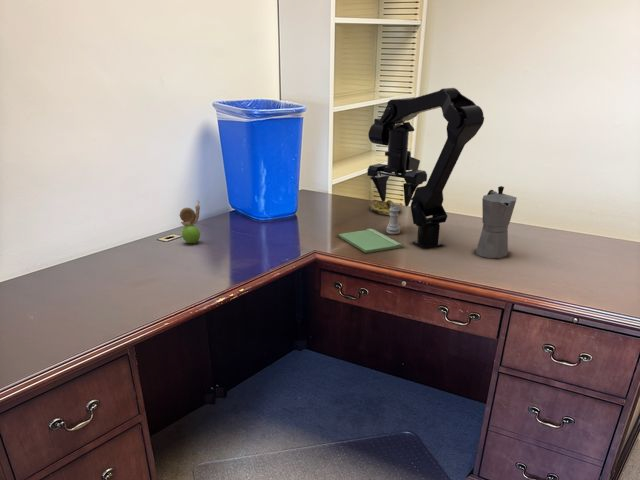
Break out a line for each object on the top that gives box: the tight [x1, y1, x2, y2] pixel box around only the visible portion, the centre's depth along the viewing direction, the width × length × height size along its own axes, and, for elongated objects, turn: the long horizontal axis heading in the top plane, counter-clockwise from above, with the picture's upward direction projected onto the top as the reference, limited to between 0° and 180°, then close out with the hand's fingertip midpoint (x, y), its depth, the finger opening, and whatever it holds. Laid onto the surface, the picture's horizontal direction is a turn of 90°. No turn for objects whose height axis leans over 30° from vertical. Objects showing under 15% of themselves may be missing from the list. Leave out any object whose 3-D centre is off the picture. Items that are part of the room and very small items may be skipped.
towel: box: [338, 227, 403, 254], centre depth 179 cm, size 18×12×1 cm, turn 24°
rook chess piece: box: [386, 204, 401, 236], centre depth 184 cm, size 4×4×8 cm
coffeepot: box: [475, 185, 518, 259], centre depth 164 cm, size 15×9×18 cm, turn 4°
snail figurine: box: [179, 200, 201, 244], centre depth 177 cm, size 5×6×12 cm
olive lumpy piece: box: [370, 199, 400, 216], centre depth 208 cm, size 9×5×15 cm
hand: (395, 203), depth 182 cm, fingers open, 9 cm apart
